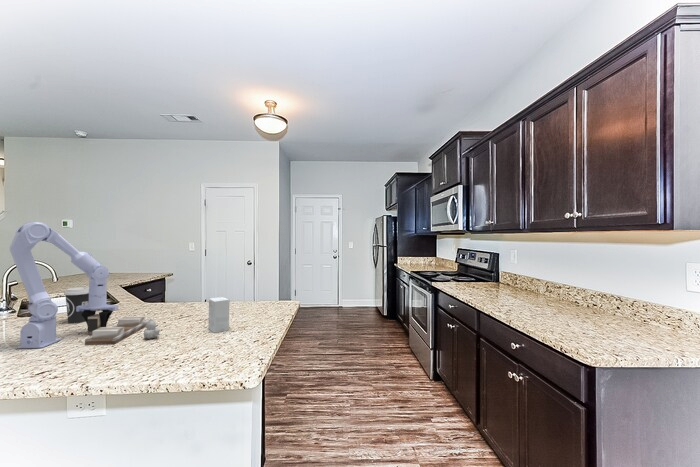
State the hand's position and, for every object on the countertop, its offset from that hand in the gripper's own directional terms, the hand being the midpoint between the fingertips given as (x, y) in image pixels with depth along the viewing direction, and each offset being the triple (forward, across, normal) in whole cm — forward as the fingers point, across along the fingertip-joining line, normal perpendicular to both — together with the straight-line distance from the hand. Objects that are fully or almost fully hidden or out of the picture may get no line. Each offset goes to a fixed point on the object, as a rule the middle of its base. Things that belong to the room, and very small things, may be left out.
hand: (97, 328), depth 130 cm
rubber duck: (+2, -25, +9) cm, 27 cm away
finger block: (+2, 0, 0) cm, 2 cm away
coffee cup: (+2, +19, -18) cm, 26 cm away
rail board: (+2, -10, +2) cm, 10 cm away
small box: (+2, -47, -1) cm, 47 cm away
